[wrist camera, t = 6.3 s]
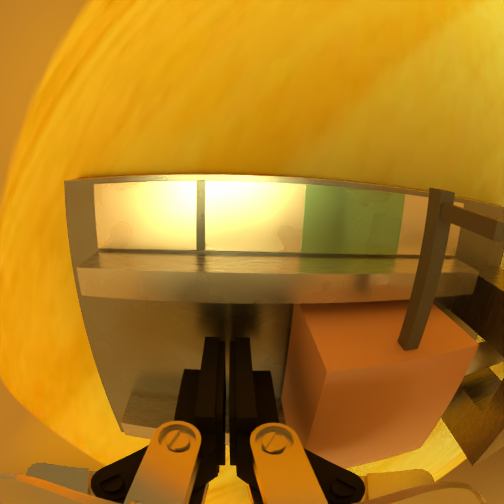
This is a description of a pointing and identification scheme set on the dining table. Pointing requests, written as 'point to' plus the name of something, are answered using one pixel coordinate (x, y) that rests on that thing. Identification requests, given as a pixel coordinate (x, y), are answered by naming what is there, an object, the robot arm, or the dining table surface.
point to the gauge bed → (262, 280)
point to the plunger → (383, 358)
